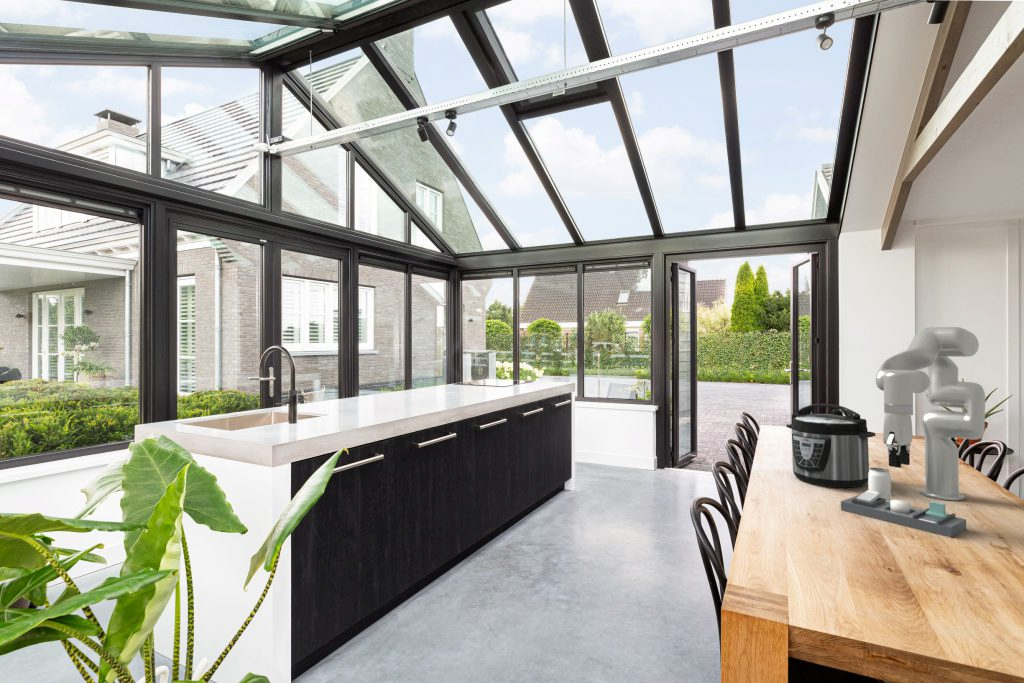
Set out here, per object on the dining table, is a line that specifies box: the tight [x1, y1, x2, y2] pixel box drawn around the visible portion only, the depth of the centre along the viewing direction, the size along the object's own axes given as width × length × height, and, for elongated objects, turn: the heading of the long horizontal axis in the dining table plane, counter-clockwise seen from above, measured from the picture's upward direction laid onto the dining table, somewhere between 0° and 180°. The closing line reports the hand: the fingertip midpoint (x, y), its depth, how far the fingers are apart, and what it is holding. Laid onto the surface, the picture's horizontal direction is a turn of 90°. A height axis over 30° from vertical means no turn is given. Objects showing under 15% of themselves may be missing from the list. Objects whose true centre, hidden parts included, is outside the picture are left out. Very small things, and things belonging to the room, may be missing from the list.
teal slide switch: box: [925, 500, 950, 519], centre depth 160 cm, size 4×5×4 cm
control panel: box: [840, 495, 967, 539], centre depth 166 cm, size 12×30×4 cm, turn 33°
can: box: [867, 467, 892, 502], centre depth 183 cm, size 6×6×12 cm
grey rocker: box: [856, 489, 881, 503], centre depth 174 cm, size 8×4×1 cm, turn 123°
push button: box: [890, 499, 911, 515], centre depth 166 cm, size 5×5×4 cm
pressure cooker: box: [786, 403, 876, 488], centre depth 213 cm, size 30×28×32 cm
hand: (899, 464), depth 166 cm, fingers open, 5 cm apart
